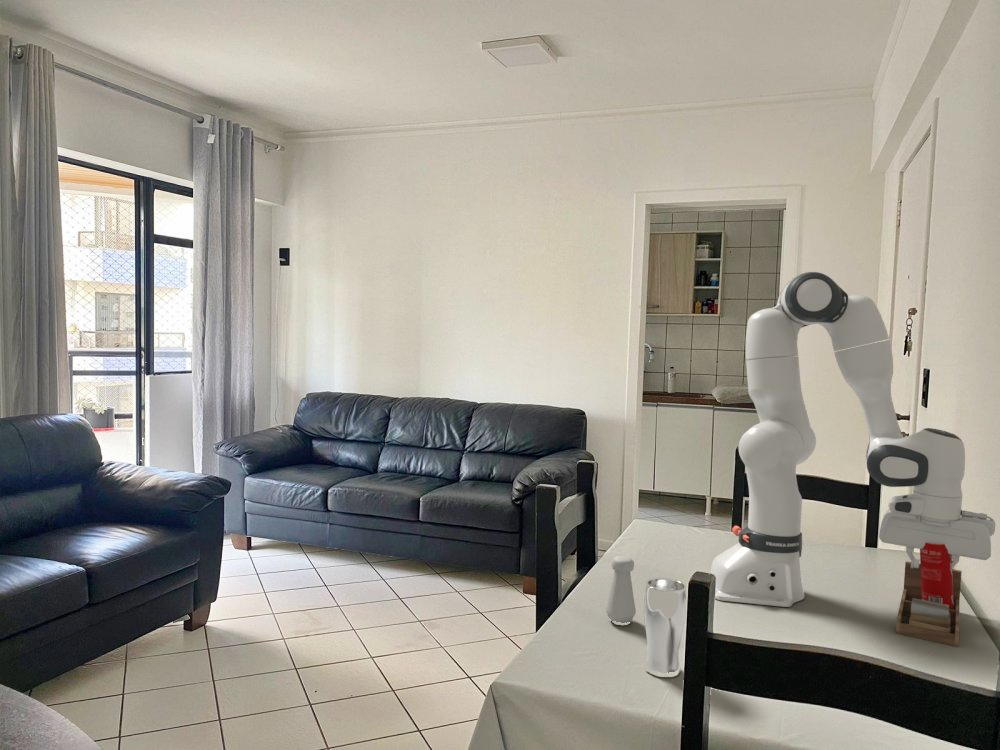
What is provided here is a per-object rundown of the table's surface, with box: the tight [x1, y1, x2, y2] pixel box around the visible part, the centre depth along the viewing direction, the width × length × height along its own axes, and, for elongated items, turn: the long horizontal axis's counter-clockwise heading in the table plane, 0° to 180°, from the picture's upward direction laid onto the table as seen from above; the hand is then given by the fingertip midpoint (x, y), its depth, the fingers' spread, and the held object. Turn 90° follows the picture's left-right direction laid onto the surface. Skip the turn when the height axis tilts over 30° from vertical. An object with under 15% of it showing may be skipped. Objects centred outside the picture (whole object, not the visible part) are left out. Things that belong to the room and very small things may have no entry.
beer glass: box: [643, 577, 687, 673], centre depth 123 cm, size 7×7×15 cm
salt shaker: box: [605, 555, 637, 623], centre depth 143 cm, size 6×6×13 cm
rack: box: [895, 560, 962, 647], centre depth 148 cm, size 21×10×9 cm, turn 147°
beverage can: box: [919, 542, 954, 610], centre depth 152 cm, size 6×6×15 cm
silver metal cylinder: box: [908, 598, 951, 633], centre depth 145 cm, size 5×7×5 cm
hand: (930, 571), depth 153 cm, fingers closed on beverage can, 4 cm apart
